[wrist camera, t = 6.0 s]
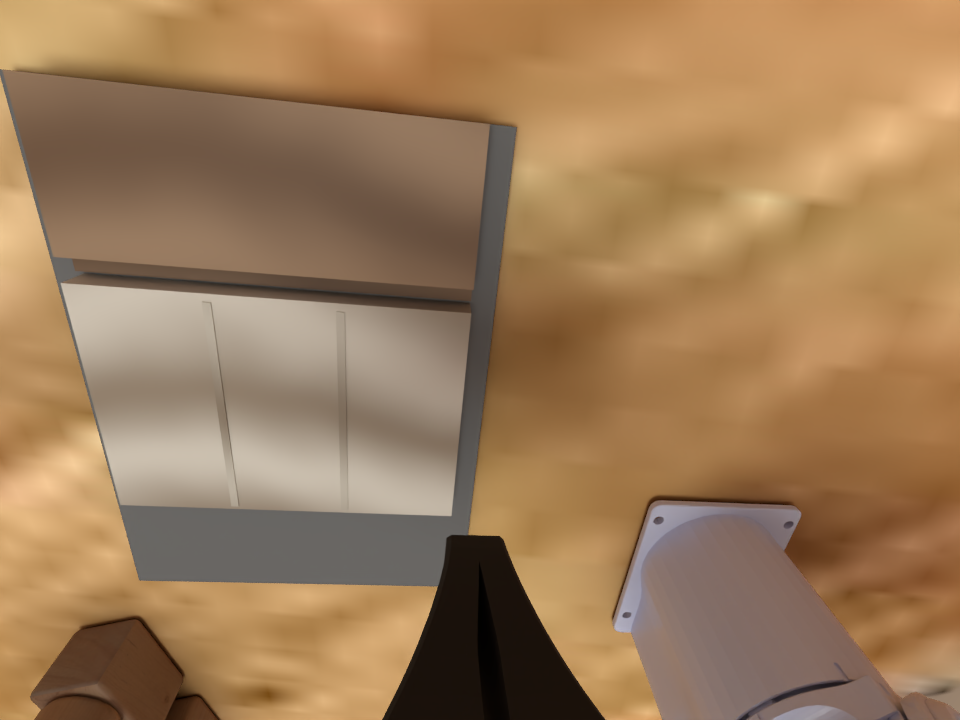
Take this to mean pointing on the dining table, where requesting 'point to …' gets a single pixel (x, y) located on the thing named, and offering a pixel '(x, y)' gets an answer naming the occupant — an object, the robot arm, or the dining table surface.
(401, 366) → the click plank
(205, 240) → the laid plank
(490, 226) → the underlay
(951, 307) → the dining table surface
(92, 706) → the brown wooden upright frame
